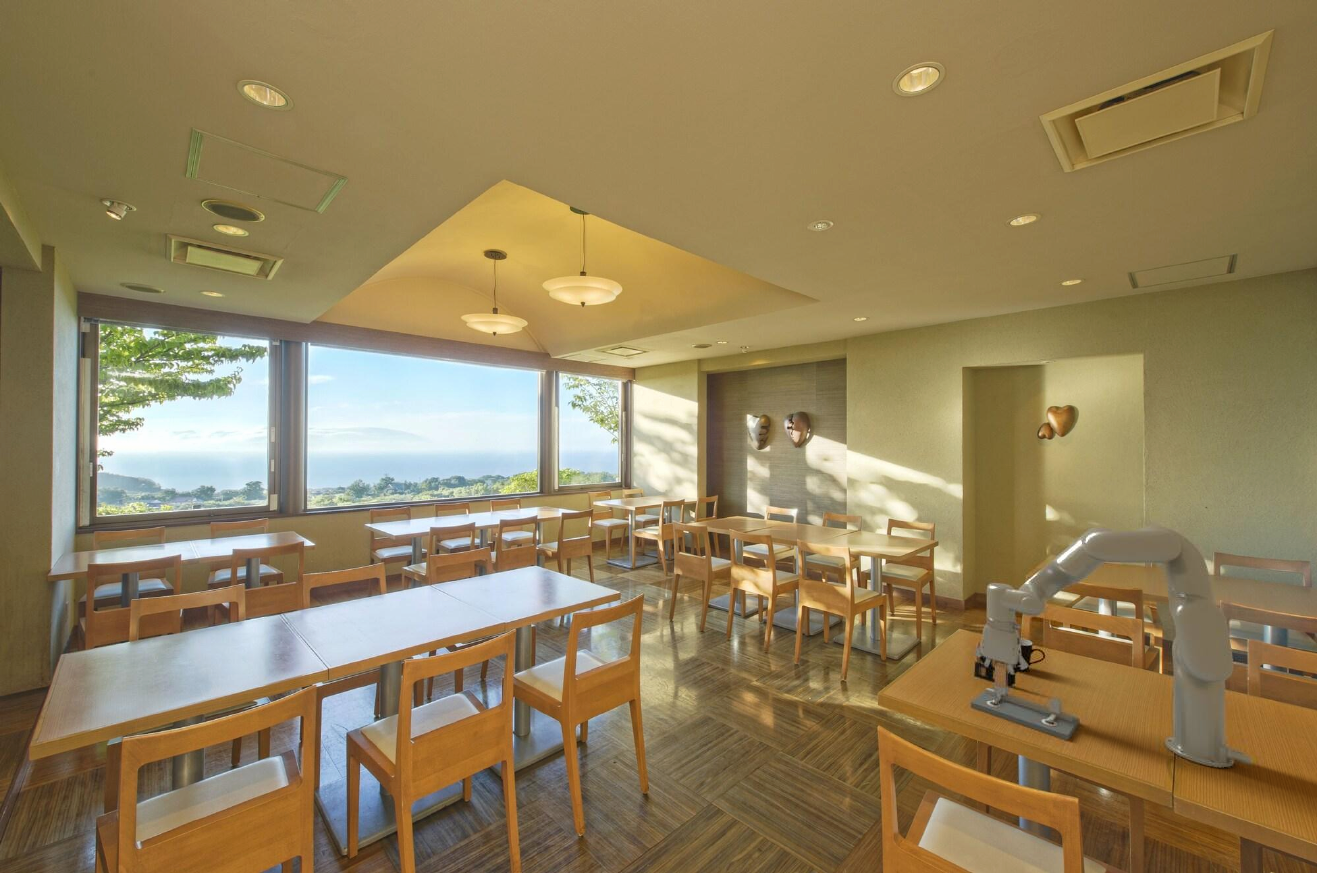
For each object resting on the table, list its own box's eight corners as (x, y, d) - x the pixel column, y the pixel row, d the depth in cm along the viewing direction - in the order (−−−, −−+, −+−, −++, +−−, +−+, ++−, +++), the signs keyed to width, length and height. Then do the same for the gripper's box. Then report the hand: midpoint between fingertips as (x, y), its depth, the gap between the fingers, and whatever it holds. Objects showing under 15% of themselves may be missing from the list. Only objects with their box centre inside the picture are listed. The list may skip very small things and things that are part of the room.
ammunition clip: (1011, 685, 179) (1011, 649, 179) (1009, 687, 177) (1009, 651, 178) (976, 674, 187) (976, 640, 187) (974, 676, 186) (974, 641, 186)
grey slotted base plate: (1079, 723, 155) (1079, 702, 155) (1067, 740, 145) (1067, 718, 145) (986, 693, 173) (986, 674, 173) (970, 707, 163) (971, 687, 163)
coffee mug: (998, 665, 195) (998, 637, 195) (1015, 662, 198) (1015, 635, 198) (1028, 678, 184) (1028, 649, 184) (1046, 675, 187) (1047, 647, 187)
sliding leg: (1009, 697, 166) (1009, 665, 167) (999, 706, 161) (999, 673, 161) (998, 693, 169) (998, 662, 169) (988, 702, 163) (988, 670, 163)
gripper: (1036, 628, 163) (1036, 688, 163) (974, 614, 176) (974, 670, 176) (1029, 634, 158) (1028, 696, 158) (966, 619, 171) (966, 676, 171)
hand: (1000, 681), depth 167 cm, fingers open, 5 cm apart
